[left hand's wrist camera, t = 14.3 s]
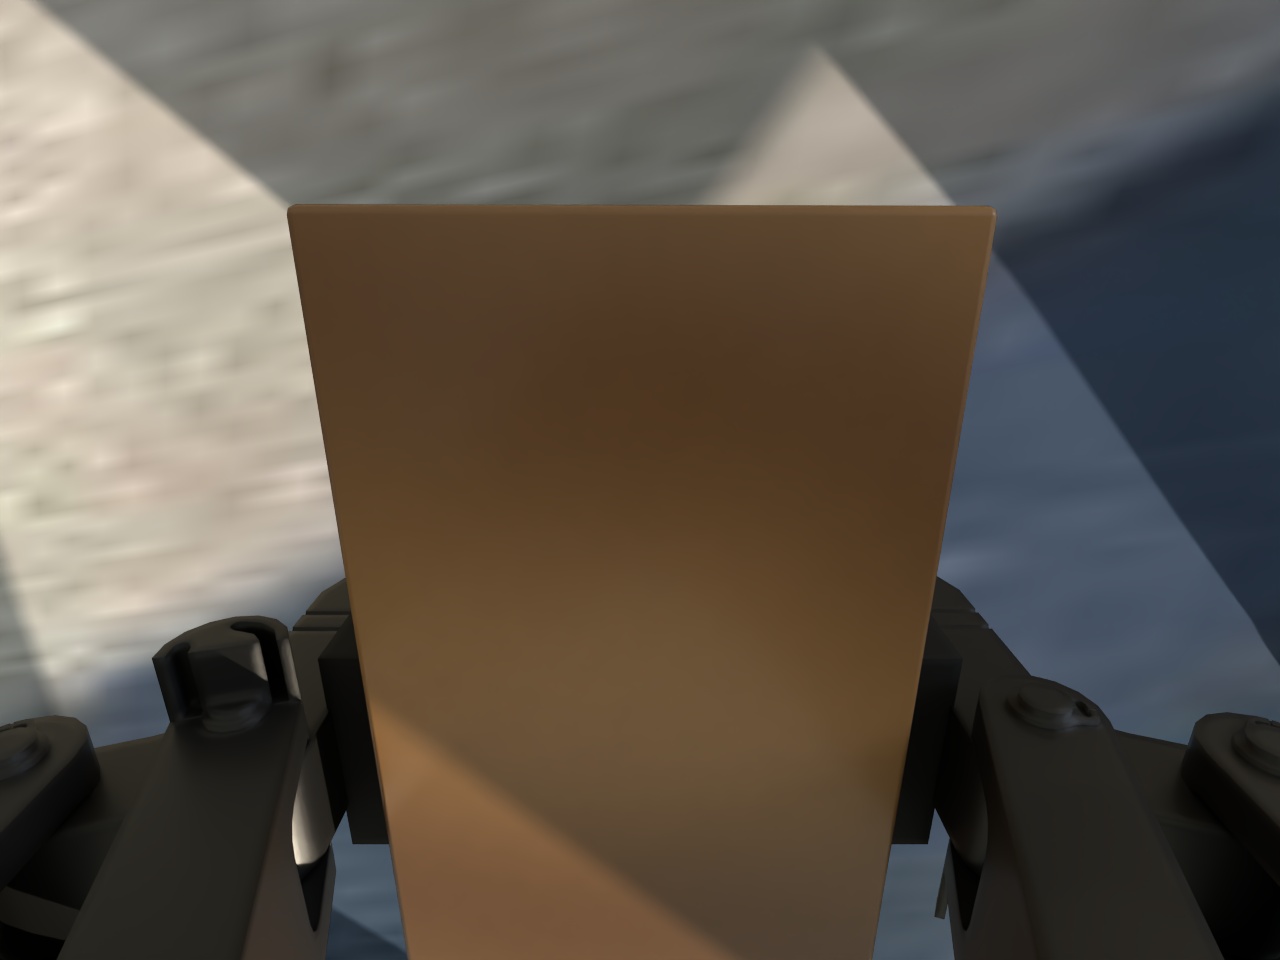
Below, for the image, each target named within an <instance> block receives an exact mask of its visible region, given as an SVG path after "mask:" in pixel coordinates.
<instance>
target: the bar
mask: <svg viewBox="0 0 1280 960" xmlns="http://www.w3.org/2000/svg"><path fill="white" fill-rule="evenodd" d="M287 219H288V225H289V231H290V237H291V243H292V250H293V256H294V262H295V268H296V274H297V280H298V287H299V293H300V299H301V305H302V311H303V317H304V323H305V330H306V336H307V342H308V348H309V354H310V360H311V367H312V373H313V379H314V385H315V391H316V397H317V403H318V410H319V416H320V422H321V428H322V434H323V440H324V447H325V453H326V459H327V465H328V471H329V477H330V483H331V490H332V496H333V502H334V508H335V514H336V520H337V527H338V533H339V539H340V545H341V551H342V557H343V563H344V570H345V576H346V582H347V588H348V594H349V600H350V607H351V613H352V619H353V625H354V631H355V637H356V643H357V650H358V656H359V662H360V668H361V674H362V680H363V687H364V693H365V699H366V705H367V711H368V717H369V723H370V730H371V736H372V742H373V748H374V754H375V760H376V767H377V773H378V779H379V785H380V791H381V797H382V803H383V810H384V816H385V822H386V828H387V834H388V840H389V847H390V853H391V859H392V865H393V871H394V877H395V883H396V890H397V896H398V902H399V908H400V914H401V920H402V927H403V933H404V939H405V945H406V951H407V957H408V960H872V956H873V950H874V944H875V938H876V933H877V927H878V921H879V915H880V909H881V903H882V897H883V891H884V885H885V879H886V873H887V867H888V861H889V855H890V849H891V843H892V838H893V832H894V826H895V820H896V814H897V808H898V802H899V796H900V790H901V784H902V778H903V772H904V766H905V760H906V754H907V748H908V743H909V737H910V731H911V725H912V719H913V713H914V707H915V701H916V695H917V689H918V683H919V677H920V671H921V665H922V659H923V653H924V648H925V642H926V636H927V630H928V624H929V618H930V612H931V606H932V600H933V594H934V588H935V582H936V576H937V570H938V564H939V559H940V553H941V547H942V541H943V535H944V529H945V523H946V517H947V511H948V505H949V499H950V493H951V487H952V481H953V475H954V469H955V464H956V458H957V452H958V446H959V440H960V434H961V428H962V422H963V416H964V410H965V404H966V398H967V392H968V386H969V380H970V374H971V369H972V363H973V357H974V351H975V345H976V339H977V333H978V327H979V321H980V315H981V309H982V303H983V297H984V291H985V285H986V279H987V274H988V268H989V262H990V256H991V250H992V244H993V238H994V232H995V226H996V220H997V213H996V210H995V209H994V208H992V207H990V206H844V205H402V204H295V205H293V206H291V207H289V208H288V211H287Z"/></svg>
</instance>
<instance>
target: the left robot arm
mask: <svg viewBox="0 0 1280 960" xmlns="http://www.w3.org/2000/svg"><path fill="white" fill-rule="evenodd" d="M152 661H153V664H154V667H155V671H156V674H157V678H158V681H159V685H160V688H161V692H162V695H163V699H164V702H165V706H166V709H167V713H168V716H169V720H170V724H169V726H168V728H167V730H166V732H165V733H163V734H159V735H156V736H151V737H147V738H142V739H137V740H132V741H127V742H122V743H117V744H112V745H107V746H102V747H98V748H94V747H93V744H92V741H91V738H90V735H89V732H88V729H87V726H86V725H84V724H83V723H82V722H80V721H79V720H78V719H76V718H73V717H64V716H47V717H40V718H33V719H26V720H21V721H17V722H14V724H11V725H10V724H7V725H4V726H1V727H0V960H326V951H327V943H328V935H329V926H330V918H331V910H332V901H333V893H334V885H335V876H336V867H335V860H334V854H333V849H332V844H331V840H332V838H333V836H334V834H335V832H336V830H337V828H338V826H339V824H340V822H341V820H342V818H343V815H344V813H345V811H347V817H348V822H349V827H350V832H351V838H352V843H353V844H389V840H388V834H387V828H386V822H385V816H384V810H383V803H382V797H381V791H380V785H379V779H378V773H377V767H376V760H375V754H374V748H373V742H372V736H371V730H370V723H369V717H368V711H367V705H366V699H365V693H364V687H363V680H362V674H361V668H360V662H359V656H358V650H357V643H356V637H355V631H354V625H353V619H352V613H351V607H350V600H349V594H348V588H347V582H346V578H344V579H342V580H341V581H339V582H338V583H336V584H334V585H333V586H331V587H329V588H328V589H326V590H325V591H323V592H322V593H321V594H320V595H319V596H318V597H317V599H316V600H315V601H314V602H313V603H312V605H311V606H310V607H309V608H308V609H307V611H306V615H302V617H301V618H300V619H299V620H298V621H297V623H296V624H295V625H294V626H293V631H289V632H288V628H287V626H285V625H284V624H283V623H281V622H280V621H279V620H277V619H273V618H268V617H263V616H239V617H232V618H227V619H223V620H218V621H214V622H209V623H207V624H204V625H202V626H199V627H197V628H194V629H191V630H189V631H186V632H184V633H183V634H181V635H179V636H178V637H176V638H174V639H173V640H171V641H170V642H168V643H166V644H165V645H164V646H163V647H162V648H161V649H160V650H159V651H158V652H157V653H156V654H155V655H154V657H153V658H152ZM934 809H936V811H937V813H938V815H939V817H940V819H941V821H942V823H943V825H944V827H945V829H946V831H947V833H948V835H949V837H950V839H949V844H948V849H947V854H946V859H945V863H944V868H943V873H942V878H941V883H940V888H939V893H938V898H937V903H936V910H935V917H937V918H941V919H944V918H945V914H946V909H947V904H948V908H949V916H950V924H951V933H952V941H953V949H954V958H955V960H1280V723H1278V722H1276V721H1273V720H1272V721H1269V720H1268V719H1266V718H1261V717H1257V716H1250V715H1243V714H1236V713H1228V712H1226V713H1217V714H1208V715H1205V716H1204V717H1203V718H1201V719H1200V720H1199V721H1197V722H1196V723H1195V726H1194V729H1193V731H1192V734H1191V737H1190V740H1189V743H1188V745H1184V744H1179V743H1174V742H1169V741H1164V740H1159V739H1154V738H1150V737H1145V736H1140V735H1135V734H1130V733H1126V732H1122V731H1118V730H1114V729H1113V726H1112V724H1111V722H1110V721H1109V719H1108V718H1107V717H1106V715H1105V714H1104V713H1103V712H1102V710H1101V709H1100V708H1099V707H1098V706H1097V705H1096V704H1095V703H1093V702H1092V701H1090V700H1089V699H1088V698H1086V697H1085V696H1083V695H1082V694H1081V693H1079V692H1077V691H1075V690H1073V689H1071V688H1068V687H1066V686H1064V685H1062V684H1059V683H1057V682H1055V681H1051V680H1047V679H1043V678H1039V677H1035V676H1031V675H1030V674H1029V672H1028V671H1027V670H1026V669H1025V668H1024V667H1023V665H1022V664H1021V663H1020V662H1019V661H1018V659H1017V658H1016V657H1015V656H1014V655H1013V653H1012V652H1011V651H1010V650H1009V649H1008V647H1007V646H1006V645H1005V644H1004V643H1003V641H1002V640H1001V639H1000V638H999V637H998V635H997V634H996V633H995V632H994V631H993V630H992V629H989V627H988V624H987V622H986V621H985V620H984V619H983V618H982V616H981V615H980V614H979V613H975V608H974V607H973V606H972V604H971V603H970V602H969V601H968V600H967V598H966V597H965V596H964V595H963V594H962V593H961V591H960V590H959V589H957V588H955V587H954V586H952V585H950V584H949V583H947V582H946V581H944V580H942V579H941V578H939V577H937V576H936V582H935V588H934V594H933V600H932V606H931V612H930V618H929V624H928V630H927V636H926V642H925V648H924V653H923V659H922V665H921V671H920V677H919V683H918V689H917V695H916V701H915V707H914V713H913V719H912V725H911V731H910V737H909V743H908V748H907V754H906V760H905V766H904V772H903V778H902V784H901V790H900V796H899V802H898V808H897V814H896V820H895V826H894V832H893V838H892V843H891V844H928V840H929V835H930V830H931V825H932V819H933V814H934Z"/></svg>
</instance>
